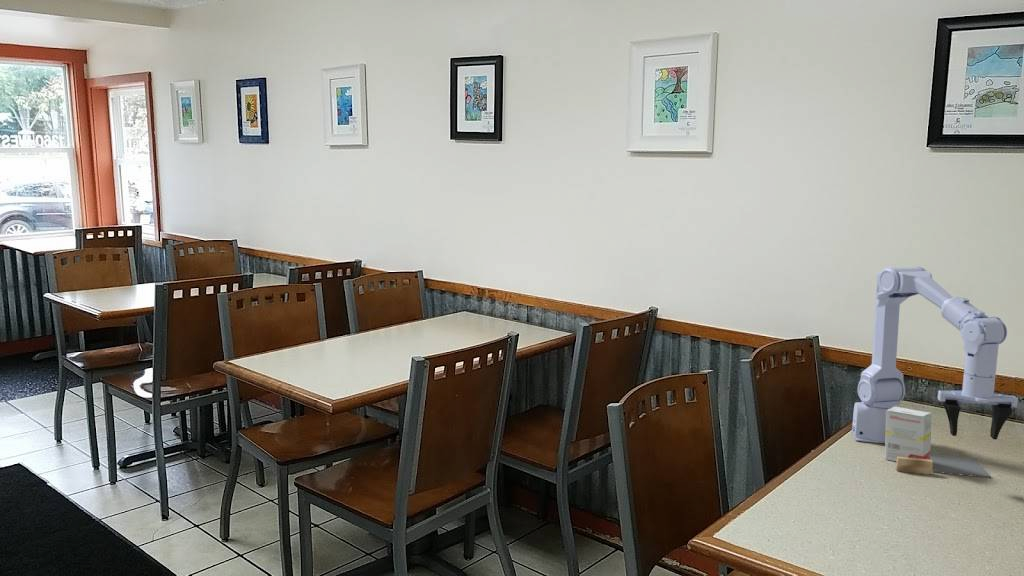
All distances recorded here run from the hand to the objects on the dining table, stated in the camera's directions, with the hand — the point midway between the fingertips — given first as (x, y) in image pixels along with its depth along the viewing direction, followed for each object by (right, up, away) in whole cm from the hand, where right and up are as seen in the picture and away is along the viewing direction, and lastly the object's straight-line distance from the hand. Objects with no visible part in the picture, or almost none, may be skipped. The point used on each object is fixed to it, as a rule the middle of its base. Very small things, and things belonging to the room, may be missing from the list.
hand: (973, 436), depth 166 cm
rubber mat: (+2, -9, +11) cm, 14 cm away
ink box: (-7, -8, +14) cm, 17 cm away
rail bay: (-7, -8, +14) cm, 17 cm away
